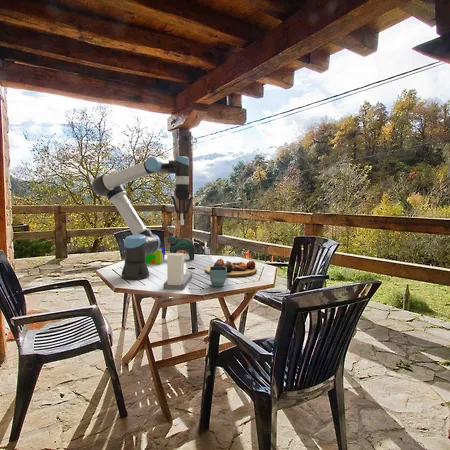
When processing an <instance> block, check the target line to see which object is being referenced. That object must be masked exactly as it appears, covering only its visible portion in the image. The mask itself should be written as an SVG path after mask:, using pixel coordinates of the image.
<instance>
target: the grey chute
mask: <svg viewBox="0 0 450 450" xmlns="http://www.w3.org/2000/svg"><path fill="white" fill-rule="evenodd" d="M192 279H193V272H190V273H188V274H184V282H183V283H182V285H167V279H166V280H165V282H163V290H182V289H184V290H185V289H186V288H187V286H188V284H189V283H190V282H191V280H192Z"/></svg>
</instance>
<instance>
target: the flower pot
mask: <svg viewBox="0 0 450 450" xmlns="http://www.w3.org/2000/svg"><path fill="white" fill-rule="evenodd" d="M226 274H227V269H226V267H210V274H209V280H210V282H211V285H212V286H213V287H223V286H224V285H225V283H226V279H227V277H226Z"/></svg>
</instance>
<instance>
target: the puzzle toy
mask: <svg viewBox="0 0 450 450" xmlns="http://www.w3.org/2000/svg"><path fill="white" fill-rule="evenodd" d="M165 257H166V256H165V247H159V249H158V250H157V251H156V252H154V253H153V254H149V255H146V264H147V265H162V264H163V263H164V261H165V260H166V259H165ZM161 263H162V264H161Z"/></svg>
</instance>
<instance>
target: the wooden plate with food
mask: <svg viewBox="0 0 450 450" xmlns="http://www.w3.org/2000/svg"><path fill="white" fill-rule="evenodd" d="M210 267H226V269H227V274H226V278H242V277H248V276H249V277H250V276H252V275H255V274H256V273H257V271H258V270H257V268H256V262H255V260H249V261H248V262H246V263H245V262H244V261H237V262H235V261H234V262H232V261H229V260H227V261H226V262H225V261H224V259H222V258H220V259H217V260H216V261H215V262H214V264H213V265H212V264H211V265H209V266H207V267H206V268H205V269H204V272H205V273H206V274H208V275H210Z"/></svg>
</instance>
